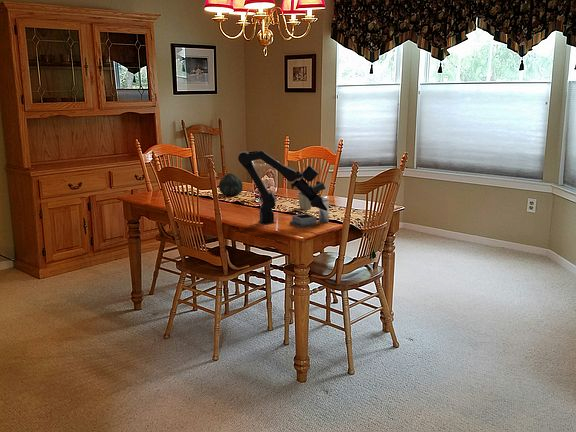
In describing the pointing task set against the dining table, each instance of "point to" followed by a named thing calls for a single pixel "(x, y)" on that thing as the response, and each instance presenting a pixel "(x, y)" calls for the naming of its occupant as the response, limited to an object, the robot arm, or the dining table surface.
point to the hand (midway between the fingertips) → (326, 209)
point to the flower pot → (303, 201)
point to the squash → (230, 185)
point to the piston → (322, 213)
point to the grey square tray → (304, 220)
